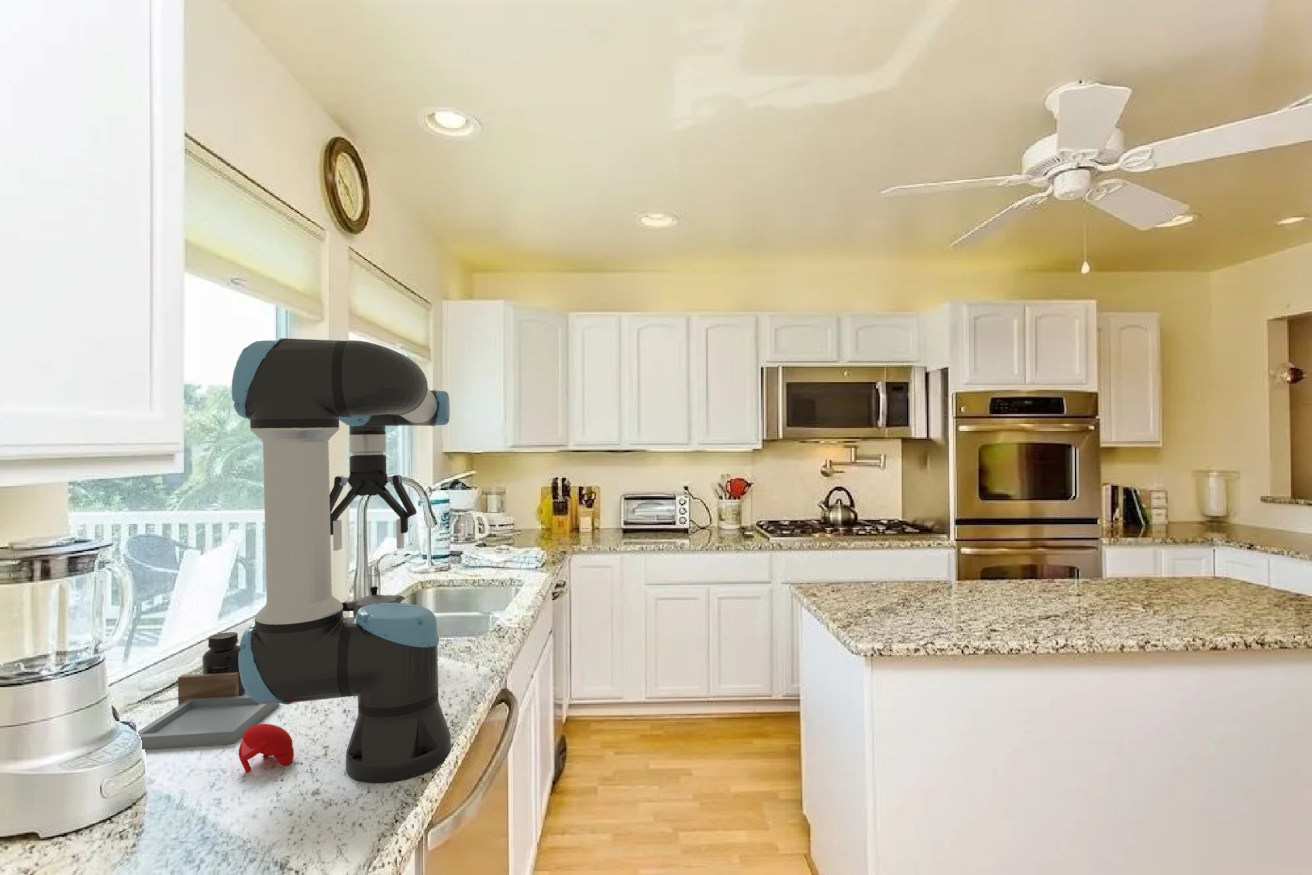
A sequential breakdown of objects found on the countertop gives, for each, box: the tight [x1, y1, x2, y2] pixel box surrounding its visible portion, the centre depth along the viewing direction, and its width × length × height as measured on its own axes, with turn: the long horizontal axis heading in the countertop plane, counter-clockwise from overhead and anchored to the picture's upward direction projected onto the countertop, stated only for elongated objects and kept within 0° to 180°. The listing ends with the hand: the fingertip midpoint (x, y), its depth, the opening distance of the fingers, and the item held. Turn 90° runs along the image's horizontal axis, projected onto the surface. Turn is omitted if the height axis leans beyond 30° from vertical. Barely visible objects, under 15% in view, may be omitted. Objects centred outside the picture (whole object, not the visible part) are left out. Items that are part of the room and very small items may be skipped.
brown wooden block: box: [177, 672, 239, 706], centre depth 125 cm, size 11×10×6 cm
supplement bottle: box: [201, 631, 245, 696], centre depth 125 cm, size 7×7×12 cm
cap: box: [238, 723, 295, 773], centre depth 98 cm, size 8×6×6 cm
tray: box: [137, 695, 280, 750], centre depth 112 cm, size 16×16×2 cm
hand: (369, 548), depth 143 cm, fingers open, 13 cm apart
